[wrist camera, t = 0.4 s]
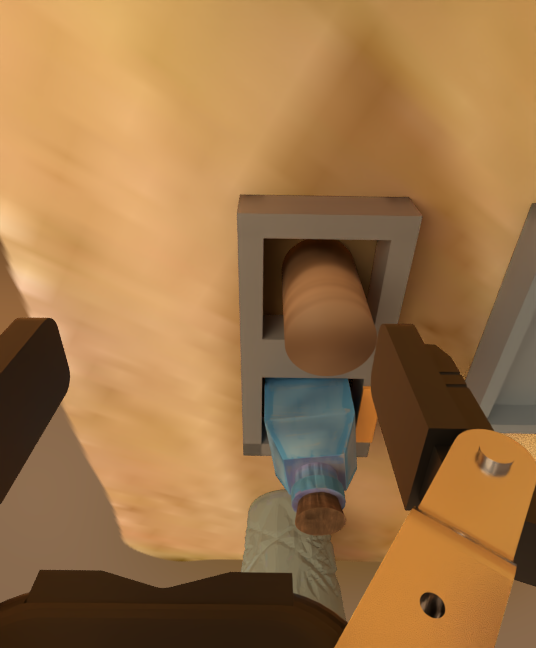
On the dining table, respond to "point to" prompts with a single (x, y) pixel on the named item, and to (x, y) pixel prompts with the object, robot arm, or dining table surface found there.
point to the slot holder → (268, 330)
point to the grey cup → (291, 550)
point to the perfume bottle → (312, 447)
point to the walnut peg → (325, 309)
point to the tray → (510, 344)
